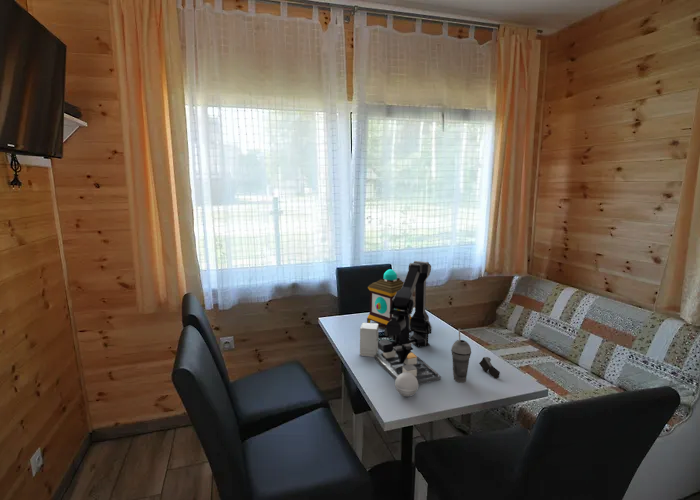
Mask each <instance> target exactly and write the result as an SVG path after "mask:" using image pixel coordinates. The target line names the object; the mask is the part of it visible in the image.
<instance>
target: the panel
mask: <svg viewBox="0 0 700 500" xmlns="http://www.w3.org/2000/svg"><path fill="white" fill-rule="evenodd" d="M410 353H413V354H414V355H416V354H415V353H414V352H413V351H412V350H411V351H410ZM374 360H375V361H376V362H377V363H378V364H380V366H381V367H382V368H383V369H384V370H385V371H386V372H387V373H388V374H389V375H390V377H392V378H393V379H394V380H395V381H396V378H397V377H398V375H400V374H401V373H402V372H403V366H404V365H406V364H405V363H403V364H401V363H400V361H399V358H398V355H397V353H395V357H391V358H385V357H384V356H383V352H382V353H379V352H377V353H376V355H374ZM412 365H414V366H415V367H416V368H417V376H415V377H416V379H417V381H418V385H422V384H426V383H431V382H436V381H439V380H441V376H440V374H439V373H438V372H437V371H436V370H435V369H434V368H432V367H431V366H430V365H429V364H428V363H426V362H425V361H424V360H423V359H421V358H420V357H419V356H417V364H412Z"/></svg>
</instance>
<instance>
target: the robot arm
mask: <svg viewBox="0 0 700 500" xmlns="http://www.w3.org/2000/svg"><path fill="white" fill-rule="evenodd" d="M408 264H409V265H408V269H407V273H406V276H405V278H404V281H403V282H404V284H403V286H402V288H401V289H400V290H399V291H397V293H396V295H395V297H394V298H393V300H392V304H391V308H390V312H389V314H393V317H392V318H391V320H390V321H389V322H388V323H387V325H386V326H385V327H386V328H384V332H383V333H384V336H385V337H388V338H389V339H390V338H391V339H392V340H393V341H390V340H388V339H382V340H378V350H380V351H381V352H382V353H383V352H384V353H387V352H392V350H393V349H394V350H395V351H396V353H397V355H398V358H399V361H400V363H401V364H403V363H404V361H405V359H406V357H407V356H408V354H409V353H410V351H411V352H412V351H413V350H414V347H412V345H414V346H416V347H417V348H424V347H429V346H431V344H430V343H429V335H430V334H432V330H433V328H432V324H431V322H430V316H429V315H428V312H426V302H427V301H426V295H427V294H426V293H427V279H428V278H429V277H430V274H431V272H432V265H431V264H430V262H428V261H422V260H421V261H420V260H414V261H413V262H410V263H408ZM414 292H415V293H414ZM413 294H414V295H415V296H414V297H413ZM394 308H395V309H398V310H394ZM399 310H400V311H399ZM413 312H414V313H413ZM412 313H413V315H412ZM410 315H411V321H410ZM412 332H413V334H412ZM410 334H412V335H411V336H410Z"/></svg>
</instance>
